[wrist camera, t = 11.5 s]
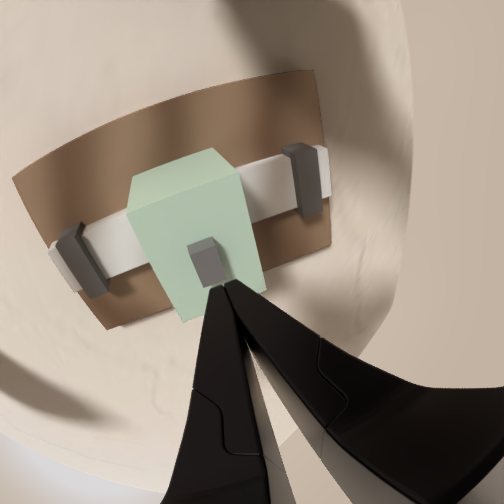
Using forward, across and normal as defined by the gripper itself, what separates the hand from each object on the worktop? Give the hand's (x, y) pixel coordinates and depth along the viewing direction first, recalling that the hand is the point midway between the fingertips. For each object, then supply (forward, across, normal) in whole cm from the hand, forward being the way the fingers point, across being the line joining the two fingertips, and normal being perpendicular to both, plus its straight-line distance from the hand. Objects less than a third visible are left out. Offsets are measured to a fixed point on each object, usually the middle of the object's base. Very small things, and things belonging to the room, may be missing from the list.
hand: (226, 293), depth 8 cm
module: (+10, 0, +2) cm, 10 cm away
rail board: (+12, 0, +2) cm, 12 cm away
